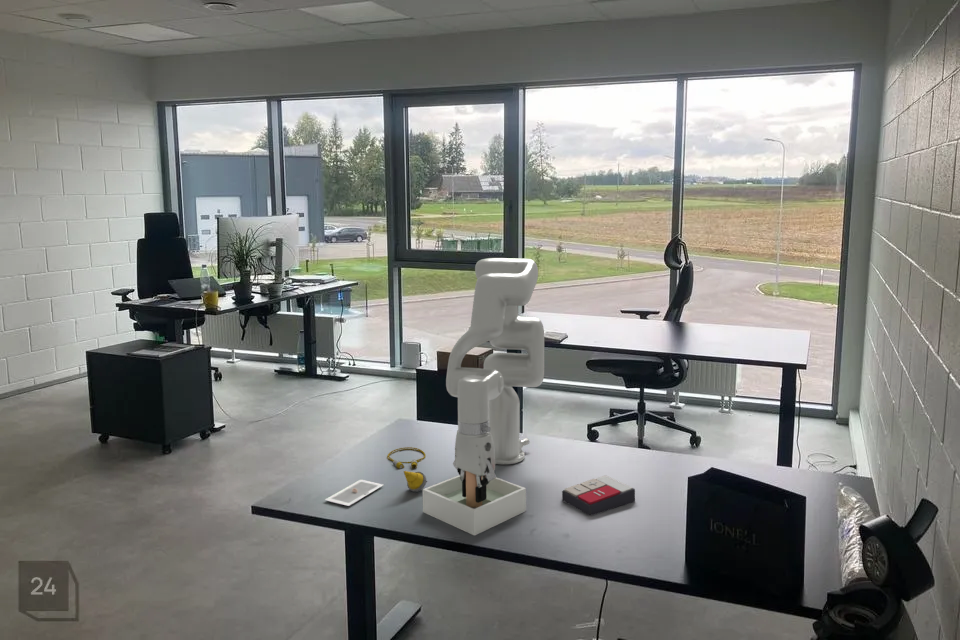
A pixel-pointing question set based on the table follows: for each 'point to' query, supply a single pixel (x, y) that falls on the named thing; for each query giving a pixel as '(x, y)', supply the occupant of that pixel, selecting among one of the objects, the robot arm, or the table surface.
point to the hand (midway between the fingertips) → (474, 497)
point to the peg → (471, 490)
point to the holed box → (453, 510)
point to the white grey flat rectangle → (354, 492)
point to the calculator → (598, 495)
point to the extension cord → (400, 465)
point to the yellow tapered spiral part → (415, 480)
